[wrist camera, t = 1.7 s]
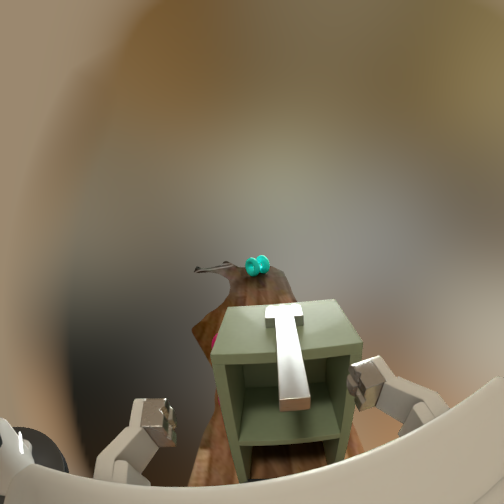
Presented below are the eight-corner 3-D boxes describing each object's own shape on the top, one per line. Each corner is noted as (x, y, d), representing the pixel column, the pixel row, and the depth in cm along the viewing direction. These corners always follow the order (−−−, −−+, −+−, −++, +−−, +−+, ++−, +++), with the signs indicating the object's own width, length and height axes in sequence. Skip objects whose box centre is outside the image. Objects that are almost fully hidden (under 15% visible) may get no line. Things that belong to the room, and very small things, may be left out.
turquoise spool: (245, 275, 149) (243, 257, 147) (259, 271, 155) (257, 254, 153) (257, 278, 141) (255, 259, 139) (271, 273, 147) (270, 255, 146)
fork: (325, 407, 15) (326, 394, 15) (263, 413, 15) (262, 400, 15) (298, 308, 33) (298, 298, 33) (266, 310, 33) (265, 301, 33)
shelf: (240, 488, 28) (210, 354, 24) (246, 435, 40) (227, 306, 35) (338, 481, 27) (363, 342, 23) (327, 429, 39) (334, 298, 34)
